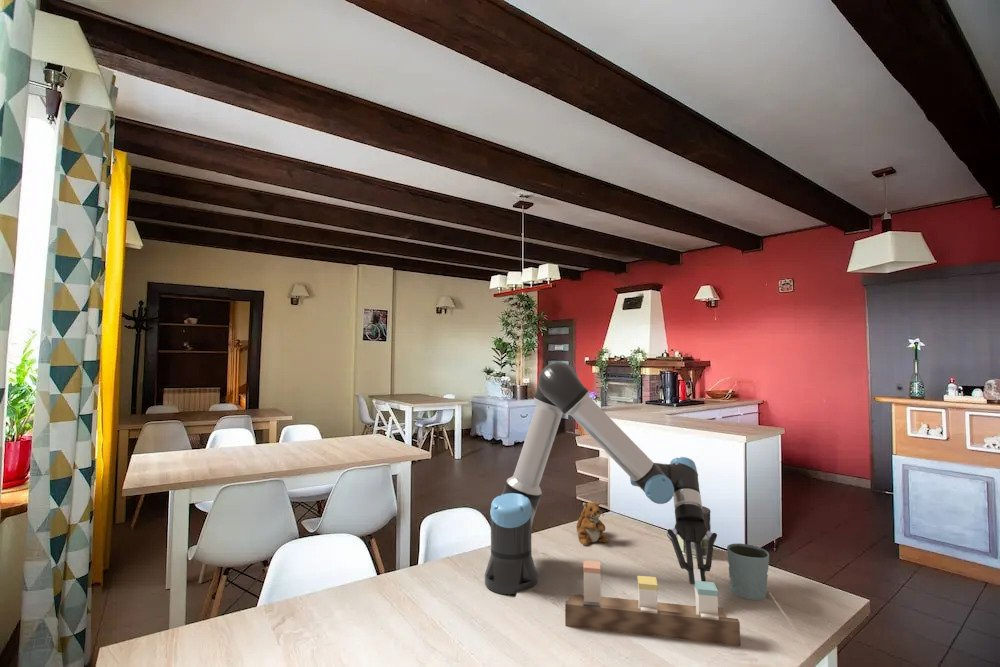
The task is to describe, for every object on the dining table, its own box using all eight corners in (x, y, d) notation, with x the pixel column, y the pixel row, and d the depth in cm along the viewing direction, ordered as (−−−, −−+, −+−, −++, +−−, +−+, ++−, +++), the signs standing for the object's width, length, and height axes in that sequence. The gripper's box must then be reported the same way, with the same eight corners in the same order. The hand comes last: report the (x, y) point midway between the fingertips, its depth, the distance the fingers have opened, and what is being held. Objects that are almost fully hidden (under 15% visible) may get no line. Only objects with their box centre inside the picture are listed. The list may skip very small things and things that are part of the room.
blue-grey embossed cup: (719, 590, 133) (718, 545, 133) (747, 584, 136) (746, 540, 137) (750, 608, 123) (749, 560, 124) (779, 601, 127) (778, 554, 128)
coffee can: (703, 546, 164) (703, 503, 165) (716, 558, 154) (715, 513, 155) (673, 545, 164) (672, 503, 165) (684, 558, 154) (683, 513, 155)
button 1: (583, 609, 120) (583, 567, 121) (584, 600, 124) (583, 560, 125) (600, 611, 119) (600, 568, 120) (600, 602, 124) (600, 561, 124)
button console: (565, 630, 113) (565, 602, 114) (570, 597, 129) (569, 572, 129) (740, 650, 105) (739, 620, 106) (722, 612, 121) (722, 586, 121)
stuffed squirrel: (584, 547, 163) (583, 507, 164) (568, 532, 177) (568, 496, 178) (611, 544, 165) (610, 505, 166) (593, 530, 179) (593, 494, 180)
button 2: (699, 635, 109) (698, 589, 110) (695, 625, 113) (694, 580, 114) (719, 637, 108) (718, 590, 109) (714, 627, 112) (713, 582, 113)
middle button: (639, 628, 112) (638, 583, 112) (638, 619, 116) (637, 575, 116) (658, 630, 111) (657, 585, 111) (656, 620, 115) (655, 577, 115)
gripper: (711, 517, 138) (725, 606, 121) (663, 514, 141) (670, 600, 124) (714, 504, 133) (730, 595, 117) (665, 501, 136) (673, 589, 120)
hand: (699, 597), depth 121 cm, fingers closed
